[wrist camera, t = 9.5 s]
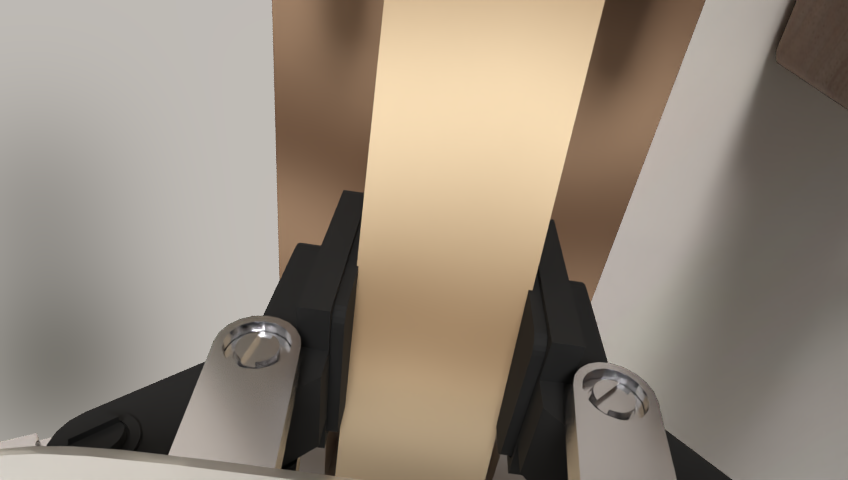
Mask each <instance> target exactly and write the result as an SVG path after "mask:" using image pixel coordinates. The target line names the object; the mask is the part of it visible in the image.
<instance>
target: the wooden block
mask: <svg viewBox="0 0 848 480" xmlns="http://www.w3.org/2000/svg"><path fill="white" fill-rule="evenodd" d="M776 62H777V63H778V64H780V65H781V66H783V67H784V68H786V69H787V70H789V71H790V72H792V73H793V74H795V75H796V76H798V77H799V78H801V79H802V80H804V81H805V82H807V83H808V84H810V85H811V86H813V87H814V88H816V89H817V90H819V91H820V92H822V93H823V94H825V95H826V96H828V97H829V98H831V99H832V100H834V101H835V102H837V103H838V104H840V105H841V106H843V107H844V108H846V109H847V110H848V0H797V1H796V3H795V6H794V8H793V11H792V13H791V16H790V18H789V21H788V23H787V25H786V28H785V30H784V33H783V35H782V38H781V40H780V42H779V45H778V47H777V50H776Z"/></svg>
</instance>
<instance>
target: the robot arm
mask: <svg viewBox="0 0 848 480" xmlns="http://www.w3.org/2000/svg"><path fill="white" fill-rule="evenodd" d="M363 201H364V193H363V192H355V191H348V190H343V192H342V195H341V197H340V200H339V202H338V205H337V207H336V210H335V212H334V215H333V217H332V220H331V222H330V225H329V227H328V230H327V232H326V235H325V237H324V240H323V242H322V245H314V244H307V243H298V244H297V245H296V247H295V249H294V251H293V253H292V255H291V257H290V259H289V262H288V264H287V266H286V268H285V270H284V272H283V274H282V277H281V279H280V281H279V283H278V285H277V287H276V289H275V291H274V294H273V296H272V298H271V300H270V302H269V304H268V306H267V309H266V311H265V313H264V315H263V316H251V317H246V318H242V319H239V320H237V321H235V322H233V323H230V324H228V325H227V326H226V327H225V328H224V329H222V330H221V331H220V332H219V333H218V335H217V336H216V338H215V340H214V341H213V344H212V346H211V349H210V351H209V354H208V356H207V359H206V361H205V362H203V363H201V364H198V365H196V366H194V367H191V368H189V369H187V370H184V371H182V372H179V373H177V374H175V375H172V376H170V377H168V378H165V379H163V380H160V381H158V382H156V383H153V384H151V385H149V386H146V387H144V388H141V389H139V390H137V391H134V392H132V393H130V394H127V395H125V396H123V397H120V398H118V399H115V400H113V401H111V402H108V403H106V404H104V405H101V406H99V407H96V408H94V409H92V410H89V411H87V412H85V413H83V414H81V415H79V416H77V417H75V418H74V419H72V420H70V421H69V422H67V423H66V424H65V425H64V426H63V427H61V428H60V429H59V430H58V431H57V432H56V433H55V434H54V436H53V437H51V438H47V439H43V440H39V438H38V435H37V433H36V434H31V435H27V436H23V437H18V438H14V439H9V440H5V441H1V442H0V480H361V479H353V478H346V477H338V476H330V475H323V474H315V473H307V472H300V471H299V467H300V457H301V456H302V455H304V454H306V453H308V452H309V451H311V450H313V449H314V448H316V447H318V448H325V445H326V441H327V437H328V433H329V431H331V432H339V430H340V426H341V422H342V417H343V413H344V409H345V404H346V393H347V383H348V372H349V362H350V351H351V341H352V330H353V320H354V309H355V299H356V288H357V278H358V267H359V266H357V259H358V250H359V240H360V230H361V221H362V211H363ZM496 430H497V449H498V454H500V455H507V464H508V473H509V474H516V475H522V476H523V477H524V478H525V479H526V480H732V479H730V478H729V477H728V476H726V475H725V474H724V473H722V472H721V471H720V470H718V469H717V468H716V467H714V466H713V465H712V464H710V463H709V462H708V461H706V460H705V459H704V458H702V457H701V456H700V455H698V454H697V453H696V452H694V451H693V450H692V449H690V448H689V447H688V446H686V445H685V444H684V443H682V442H681V441H680V440H678V439H677V438H676V437H674V436H673V435H672V434H670V433H669V432H668V431H666V430H665V428H664V424H663V419H662V415H661V411H660V407H659V403H658V400H657V398H656V396H655V393H654V391H653V390H652V389H651V388H650V386H649V385H648V384H647V383H646V382H645V381H644V380H643V379H642V378H640V377H639V376H638V375H637V374H635V373H633V372H631V371H630V370H628V369H626V368H624V367H621V366H618V365H615V364H611V363H608V362H607V358H606V355H605V351H604V348H603V344H602V341H601V337H600V334H599V330H598V327H597V323H596V320H595V316H594V313H593V309H592V306H591V302H590V299H589V295H588V292H587V288H586V286H585V284H584V283H583V282H578V281H571V280H569V278H568V274H567V270H566V266H565V262H564V258H563V254H562V250H561V246H560V242H559V237H558V233H557V229H556V225H555V222H554V220H553V219H550V222H549V226H548V230H547V234H546V238H545V242H544V246H543V250H542V254H541V258H540V262H539V266H538V270H537V274H536V278H535V282H534V286H533V290H529V291H528V295H527V299H526V303H525V307H524V312H523V316H522V320H521V324H520V328H519V333H518V337H517V341H516V345H515V349H514V354H513V358H512V362H511V366H510V370H509V375H508V379H507V383H506V387H505V391H504V396H503V400H502V404H501V408H500V412H499V417H498V421H497V425H496Z"/></svg>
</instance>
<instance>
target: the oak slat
mask: <svg viewBox="0 0 848 480" xmlns="http://www.w3.org/2000/svg"><path fill="white" fill-rule="evenodd" d="M604 2H605V0H384V6H383V16H382V26H381V36H380V45H379V55H378V65H377V75H376V84H375V94H374V104H373V113H372V123H371V133H370V143H369V152H368V162H367V172H366V182H365V191H364V201H363V211H362V221H361V230H360V240H359V250H358V259H357V266H359V267H358V278H357V288H356V299H355V309H354V320H353V330H352V341H351V351H350V362H349V372H348V383H347V393H346V404H345V409H344V413H343V417H342V422H341V426H340V435H339V444H338V454H337V464H336V474H335V476H338V477H346V478H353V479H361V480H485V478H486V474H487V470H488V466H489V462H490V458H491V454H492V450H493V446H494V442H495V438H496V434H497V430H496V425H497V421H498V417H499V412H500V408H501V404H502V400H503V396H504V391H505V387H506V383H507V379H508V375H509V370H510V366H511V362H512V358H513V354H514V349H515V345H516V341H517V337H518V333H519V328H520V324H521V320H522V316H523V312H524V307H525V303H526V299H527V295H528V291H529V290H533V286H534V282H535V278H536V274H537V270H538V266H539V262H540V258H541V254H542V250H543V246H544V242H545V238H546V234H547V230H548V226H549V222H550V218H551V214H552V210H553V206H554V202H555V198H556V194H557V190H558V186H559V182H560V178H561V174H562V170H563V166H564V162H565V158H566V154H567V150H568V146H569V142H570V138H571V134H572V130H573V126H574V122H575V118H576V114H577V110H578V106H579V102H580V98H581V94H582V90H583V86H584V82H585V78H586V74H587V70H588V66H589V62H590V58H591V54H592V50H593V46H594V42H595V38H596V34H597V30H598V26H599V22H600V18H601V14H602V10H603V6H604Z"/></svg>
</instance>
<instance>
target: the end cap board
mask: <svg viewBox="0 0 848 480" xmlns="http://www.w3.org/2000/svg"><path fill="white" fill-rule="evenodd" d="M704 3H705V0H605V2H604V6H603V10H602V14H601V18H600V22H599V26H598V30H597V34H596V38H595V42H594V46H593V50H592V54H591V58H590V62H589V66H588V70H587V74H586V78H585V82H584V86H583V90H582V94H581V98H580V102H579V106H578V110H577V114H576V118H575V122H574V126H573V130H572V134H571V138H570V142H569V146H568V150H567V154H566V158H565V162H564V166H563V170H562V174H561V178H560V182H559V186H558V190H557V194H556V198H555V202H554V206H553V210H552V214H551V218H550V219H553V220H554V222H555V225H556V229H557V233H558V237H559V242H560V246H561V250H562V254H563V258H564V262H565V266H566V270H567V274H568V278H569V280H571V281H578V282H583V283H584V284H585V286H586V288H587V292H588V295H589V299H590V302H591V300H592V298H593V295H594V292H595V290H596V287H597V285H598V282H599V279H600V277H601V274H602V271H603V269H604V266H605V263H606V261H607V258H608V256H609V253H610V250H611V248H612V245H613V242H614V240H615V237H616V235H617V232H618V229H619V227H620V224H621V221H622V219H623V216H624V213H625V211H626V208H627V206H628V203H629V200H630V198H631V195H632V192H633V190H634V187H635V185H636V182H637V179H638V177H639V174H640V171H641V169H642V166H643V164H644V161H645V158H646V156H647V153H648V150H649V148H650V145H651V142H652V140H653V137H654V135H655V132H656V129H657V127H658V124H659V121H660V119H661V116H662V114H663V111H664V108H665V106H666V103H667V100H668V98H669V95H670V93H671V90H672V87H673V85H674V82H675V79H676V77H677V74H678V71H679V69H680V66H681V64H682V61H683V58H684V56H685V53H686V50H687V48H688V45H689V43H690V40H691V37H692V35H693V32H694V29H695V27H696V24H697V21H698V19H699V16H700V14H701V11H702V8H703V6H704ZM383 6H384V0H272V16H273V52H274V88H275V89H274V90H275V127H276V163H277V201H278V235H279V236H278V238H279V275H280V279H281V277H282V274H283V272H284V270H285V268H286V266H287V264H288V262H289V259H290V257H291V255H292V253H293V251H294V249H295V247H296V245H297V244H298V243H307V244H314V245H322V242H323V240H324V237H325V235H326V232H327V230H328V227H329V225H330V222H331V220H332V217H333V215H334V212H335V210H336V207H337V205H338V202H339V200H340V197H341V195H342V192H343V190H348V191H355V192H363V193H364V191H365V182H366V172H367V162H368V152H369V143H370V133H371V123H372V113H373V104H374V94H375V84H376V75H377V65H378V55H379V45H380V36H381V26H382V16H383ZM339 435H340V430H339V432H331V431H329V433H328V437H327V441H326V445H325V448H318V447H316V448H314V449H313V450H311V451H309V452H308V453H306V454H304V455H302V456H301V457H300V467H299V471H300V472H307V473H315V474H323V475H330V476H335V474H336V464H337V454H338V444H339ZM485 480H526V479H525V478H524V477H523V476H522V475H516V474H509V473H508V464H507V455H500V454H498V449H497V434H496V438H495V442H494V446H493V450H492V454H491V458H490V462H489V466H488V470H487V474H486V478H485Z"/></svg>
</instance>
